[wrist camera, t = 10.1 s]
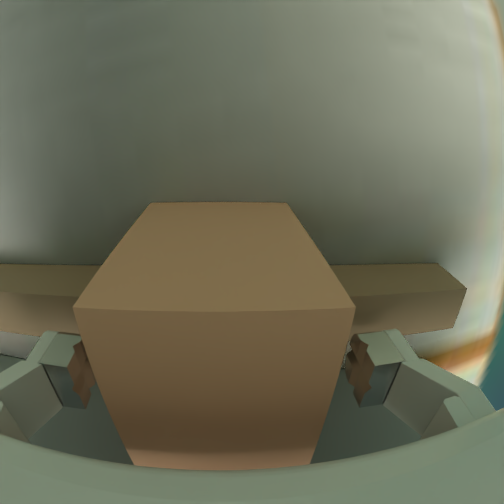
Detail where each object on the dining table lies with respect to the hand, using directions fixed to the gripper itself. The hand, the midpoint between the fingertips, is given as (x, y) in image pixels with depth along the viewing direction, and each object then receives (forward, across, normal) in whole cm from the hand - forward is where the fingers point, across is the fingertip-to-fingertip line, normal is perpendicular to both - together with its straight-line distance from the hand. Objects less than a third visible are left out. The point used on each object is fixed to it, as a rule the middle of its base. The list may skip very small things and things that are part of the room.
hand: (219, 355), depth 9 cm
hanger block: (+4, 0, 0) cm, 4 cm away
